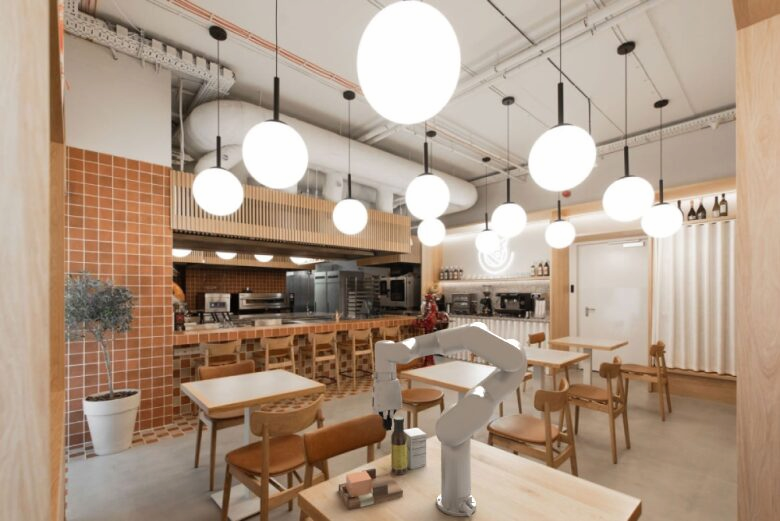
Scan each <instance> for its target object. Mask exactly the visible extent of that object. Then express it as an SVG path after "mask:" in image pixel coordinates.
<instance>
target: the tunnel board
mask: <svg viewBox="0 0 780 521" xmlns="http://www.w3.org/2000/svg"><path fill="white" fill-rule="evenodd" d="M363 471H366V472H367V473H368V475H369V476H370V477H371V479H372V487H371V493H369V494H364V495H360V496H356V497H352V498H350V499H348V497H347V495H346V493H349V492H348V490H347V489H346V482H345V483H339V484H338V492H339V495H340V496H341V498H342V499H343V502H344V504H345V505H346V507H348V508H347V510H348V509H349V511H350V510H355V509H358V507H359V508H362V507H366V506H370V505H375V504H379V503H382V502H387V501H390V500H395V499H399V498H403V497H404V495H403V494H404V493H403V492H404V490H403V489H402V487H401V486H400V485H399V484H398V483H397V482H396V480H395V479H394V478H393V477H392V476H391V474H389V473H387V474H382V475H377V469H376V468H375V467H373V468H370V469H365V470H363Z"/></svg>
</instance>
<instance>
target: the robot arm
mask: <svg viewBox="0 0 780 521" xmlns="http://www.w3.org/2000/svg"><path fill="white" fill-rule="evenodd" d="M464 352H470V353H472V354H474V355H475V356H476V357H479V358H480V359H482V360H483V361H485V362H487V363H489V364H491V366H494V367H496V368H495V369H494V370H493V371H492V372H490V373H489V374H488V375H487V376H486V377H484V378H483V379H482V380H481V381H480V382H479V383H477V384H476V385H475V386H473V387H471V388H470V389H468V391H467V392H466V393H465V395H464V397H463V398H462V399H460V401H458V402H457V403H450V404H449V405H447V406H446V407H445V408H444V409H443V410H442V412H441V413H440V415H439V417H438V418H437V420H436V422H435V427H434V431H435V436H436V438H437V439H438V441H439V442H440V448H441V449H440V465H441V467H440V469H441V470H440V471H441V473H440V485H441V487H440V488H441V493H440V494H438V496H437V497H436V507H437V508H438V509H439V510H440V511H441V512H443V513H445V514H447V515H450V516H453V517H465V516H468V517H470V516H472V515H473V513H475V511H476V509H477V504H476V503H477V501H476V500H475V498H474V497H473V496H472V485H471V484H472V481H471V480H472V475H471V474H472V472H471V471H472V470H471V468H472V467H471V454H472V453H471V443H472V442H471V439H472V437H473V435H475V434H476V433H477V432H479V430H481V429H482V428H484V427H485V426H486V425H487V424H488V423H489V421H490V420H491V419H492V417H493V415H494V412H495V409H496V407H498V406H499V405H501V403H502V402H504V401H505V400H506V399H507V398H508V397H510V396H511V395H512V394H514V393H515V391H516V390H517V389H518V388H519V387H520V385H522V383H523V381H524V380H525V376H526V372H527V369H528V360H527V359H528V358H527V353H526V350H525V347H524V346H523V344H522V343H521V342H520V341H518V340H517V339H513V338H510V339H509V338H508V339H504V338H502V337H500V336H498V335H496V334H495V333H493V332H491V331H490V329H489V327H488V325H486V324H485V323H483V322H479V321H476V322H475V321H473V322H469V323H466V324H461V325H458V326H454V327H449V328H444V329H441V330H436V331H434V332H431V333H427V334H423V335H417V336H413V337H409V338H406V339H403V340H401V341H398V342H395V341H393V340H387V339H385V340H384V339H383V340H377V341H376V342H375V344H374V366H375V368H374V369H375V370H374V373H373V374H371V378H372V379H374V380H373V384H372V390H371V391H372V392H371V407H372V411H371V412H372V414H373V415H376V416H380V417H381V418H382V420H381V421H382V428H383V430H385V431H386V432H389V431H392V427H393V419H394V416H395V414H396V413H397V412H399V411H401V410H402V407H403V396H402V388H401V383H400V379H399V378H397V364H400V365H407V364H409V363H410V362H412V361H414V360H415V359H418V358H423V357H427V356H431V355H442V356H450V355H455V354H458V353H459V354H460V353H464Z"/></svg>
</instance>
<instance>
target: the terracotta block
mask: <svg viewBox="0 0 780 521" xmlns="http://www.w3.org/2000/svg"><path fill="white" fill-rule="evenodd" d="M345 481H346V482H345V483H346V489H347V490H348V492H347V493H348V494H349V496H350V498H355V497H356V496H360V495H364V494H369V493H371V487H372V479H371V477H370V476H369V475H368V473H367V472H366V471H364V470H361V471H357V472H352V473H348V474H347V473H346V479H345Z"/></svg>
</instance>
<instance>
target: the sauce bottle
mask: <svg viewBox="0 0 780 521" xmlns="http://www.w3.org/2000/svg"><path fill="white" fill-rule="evenodd" d="M404 421H405V418H404V417H403V416H393V431H392V434H391V438H390V458H391V460H390V462H391V463H390V465H391V472H392V474H394V475H398V476H399V475H403V474H405V473H407V472H408V465H407V436H406V434H405V432H404V430H405V428H404V426H405V425H404V424H405V423H404Z"/></svg>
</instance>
